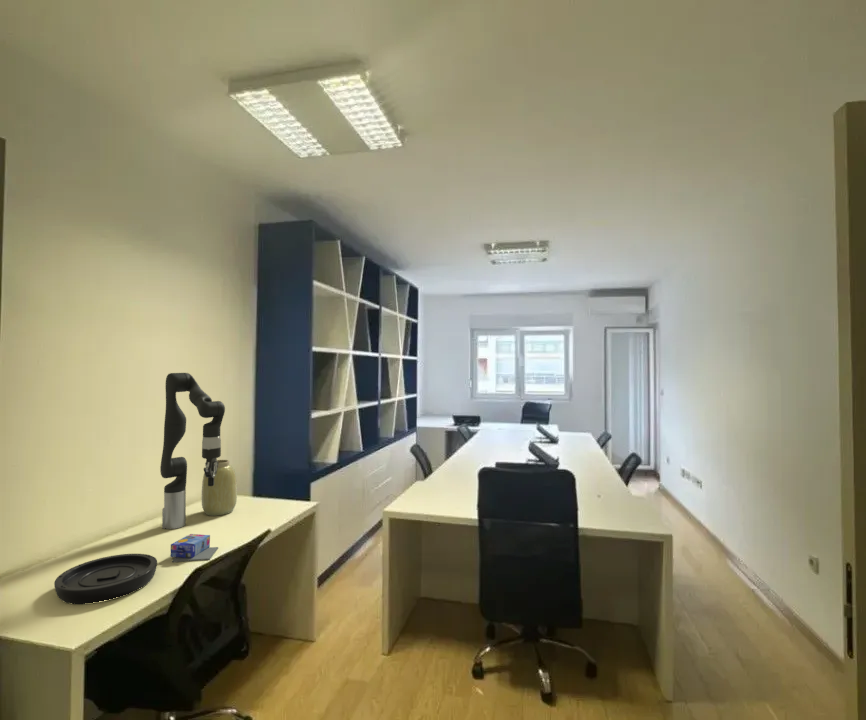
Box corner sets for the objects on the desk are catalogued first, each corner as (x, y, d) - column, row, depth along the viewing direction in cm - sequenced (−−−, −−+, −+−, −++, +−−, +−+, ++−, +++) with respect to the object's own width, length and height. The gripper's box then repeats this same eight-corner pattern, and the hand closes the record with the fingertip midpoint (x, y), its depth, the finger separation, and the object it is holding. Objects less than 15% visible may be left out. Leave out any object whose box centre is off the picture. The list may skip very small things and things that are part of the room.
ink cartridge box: (210, 534, 200) (188, 548, 186) (210, 546, 200) (188, 561, 186) (189, 532, 202) (165, 546, 187) (189, 545, 202) (165, 560, 187)
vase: (219, 505, 261) (219, 457, 262) (243, 508, 255) (243, 459, 256) (193, 515, 245) (194, 463, 245) (219, 518, 239) (219, 465, 240)
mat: (172, 562, 186) (172, 560, 186) (183, 550, 198) (183, 549, 198) (209, 559, 188) (209, 558, 188) (218, 548, 200) (218, 546, 200)
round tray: (162, 562, 187) (70, 576, 175) (162, 547, 187) (70, 560, 175) (150, 596, 159) (39, 615, 147) (150, 578, 159) (40, 596, 147)
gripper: (207, 444, 213) (207, 482, 213) (197, 449, 200) (196, 490, 200) (224, 443, 214) (224, 481, 214) (215, 449, 201) (215, 489, 201)
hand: (211, 485), depth 207 cm, fingers closed
